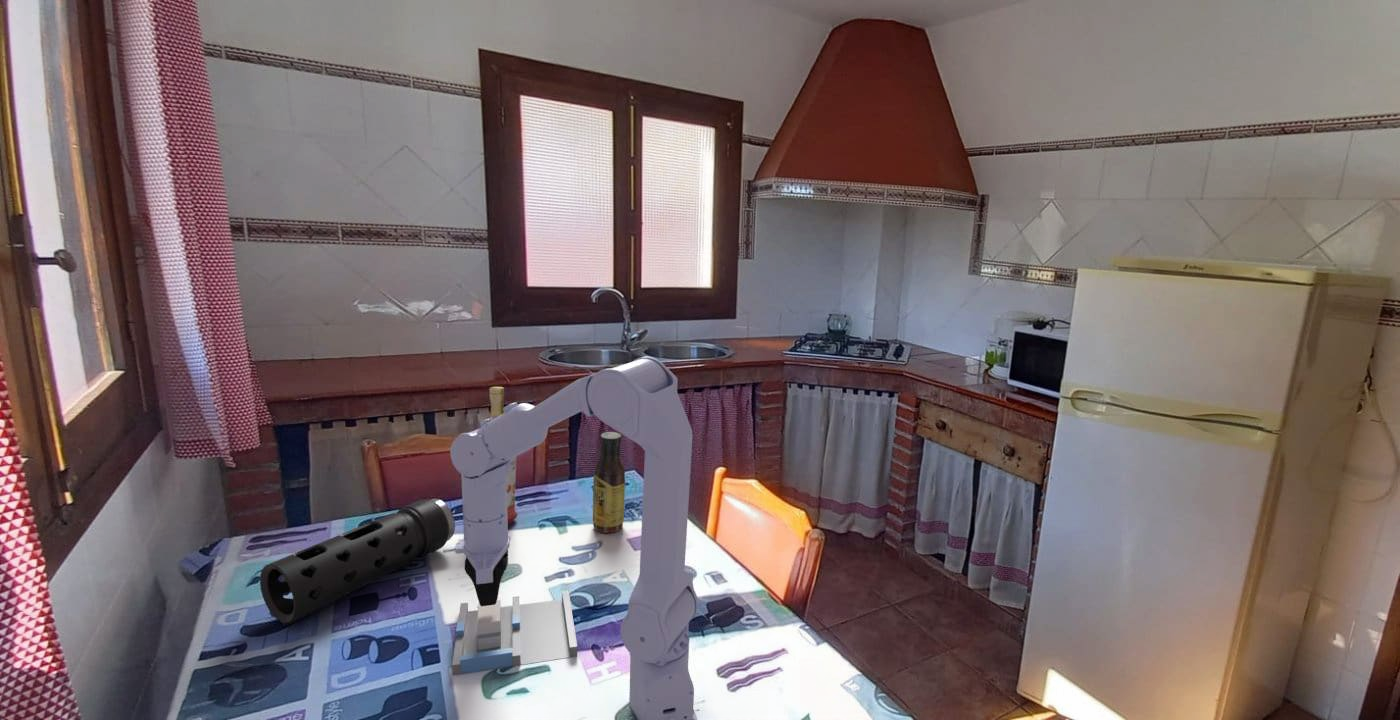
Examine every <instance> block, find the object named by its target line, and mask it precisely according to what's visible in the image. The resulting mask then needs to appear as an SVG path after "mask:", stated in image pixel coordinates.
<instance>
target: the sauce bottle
mask: <svg viewBox="0 0 1400 720" xmlns="http://www.w3.org/2000/svg"><path fill="white" fill-rule="evenodd" d="M599 441H600V453H599V454H600V456H599V457H598V460H597V463H596V465H595V468H594V471H593V487H592V522H593V523H592V524H593V528H594V530H595V531H597V532H598V533H600V534H612V533H616V532H618V531H620V530H622V529H623V525H624V518H625V517H624V516H625V514H624V513H625V497H626V495H625V492H626V478H625V477H626V473H625V472H626V466H625V464H624V462H623V460H622V458H621V457H620V456H621V443H622V434H621V433H620V432H614V431H606V432H602V433H601V435H600V439H599Z"/></svg>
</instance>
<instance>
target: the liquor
mask: <svg viewBox="0 0 1400 720" xmlns="http://www.w3.org/2000/svg"><path fill="white" fill-rule="evenodd" d="M504 399H505V388H504V387H503V386H491V387H489V400H490V404H491V405H490V416H489V418H490V419H492V420H493V419H495V418H497V417H498V416H500V415H502V414H503V413H505V412H504V410H503V408H504ZM516 471H517V456H516V457H514V458H513V459H512V460H511V461H510V464H509V473H508V474H507V476H506V484H507V520H508V526H509V525H510V524H512V523H513V522H514V521H515V519H516V518H517V517H518V512H517V511H516V473H517V472H516Z"/></svg>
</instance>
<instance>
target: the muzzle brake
mask: <svg viewBox="0 0 1400 720" xmlns="http://www.w3.org/2000/svg"><path fill="white" fill-rule="evenodd" d="M455 530H456V523H455V518H454V514H453V512H452V510H451V508H450V507H449V506H448V505H447V503H445V502H444V500H442V499H439V498H432V499H427V498H426V499H425V498H424V499H419V500H417V501H415V502H412V503H410V504H407V505H405V506H402V507H401V508H400V509H398V510H397V511H396V512H394V513H393V512H392V513H390V514H387V515H385V516H382V517H380V518H377V519H375V520H373V521H369V522H368V523H365V524H362V525H360V526H358V527H356V528H355V527H354V528H353V529H351V530H348V531H346V532H344V533H341V534H337V535H336V536H334V537H331V538H329V539H326V540H324V541H321V542H319V543H316V544H314V545H312V546H309V547H307V548H304V549H302V550H299V551H297V552H295V553H292V554H290V555H287V556H285V557H282V558H280V559H278V560H275V561H273V562H270V563H268V564H265V565H264V566H263V567H262V568H261V569H262V570H261V572H260V576H259V584H260V592H261V596H262V598H263V602H264V603H265V605H266V607H267V609H268V611H269V612H270V613H271V614H272V616H273V617H274V618H275V619H276V620H278V621H279V622H280V623H282V625H285V626H290V625H291V624H294V623H296V622H298V621H300V620H302V619H304V618H306V617H307V616H310V615H312V614H313V613H315V612H317V611H318V612H319V610H322V609H324V608H325V607H328V606H330V605H331V604H334V603H335V602H337V601H340V600H341V599H343V598H345V597H347V596H348V595H349V594H350V593H352V592H354V591H356V590H361V589H364V587H365V586H366V585H368V584H369V583H372V582H373V581H375V580H377V579H380V578H382V577H383V576H384V577H385V576H386V575H387V574H390V573H392V572H393V571H394V572H400V571H401V570H403V569H405V568H408V567H409V566H411V565H413V564H414V563H415V560H416V559H419V558H420V559H422V558H425V557H427V556H428V555H431V554H433V553H435V552H436V551H439V550H441V549H442V548H444V546H445V545H446V543H447V542H448V541H449V540H451V539H452V537H453V536H454V534H455ZM281 576H282V577H284V578H283V580H279V578H280V577H281ZM289 594H291V596H292V598H286V597H284V596H289Z"/></svg>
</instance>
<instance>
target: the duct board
mask: <svg viewBox="0 0 1400 720" xmlns="http://www.w3.org/2000/svg"><path fill="white" fill-rule="evenodd" d="M569 591H570V590H569V589H566V590H561V599H553V600H547V601H546V600H545V601H540V602H531V603H524V604H520V596H519V595H518V596H512V605H507V606H501V646H500V647H494V648H487V649H481V650H478V629H477V621H478V609H476V610H469V605H468V604H469V602H463V603H460V607H459V611H458V612H459V613H458V619H457V622H456V629H455V643H454V649H453V650H454V651H453V658H452V664H451V671H452V673H451V674H452V676H453V677H455V676H459V675H460V676H462V675H466V674H473V673H480V672H486V671H492V670H500V669H504V668H511V667H519V666H524V665H525V666H526V665H532V664H536V663H537V664H538V663H544V662H550V661H556V660H557V661H558V660H563V659H569V658H574V657H578V641H577V637H576V629H575V624H574V618H573V609H572V603H571V597H570V592H569Z"/></svg>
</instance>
